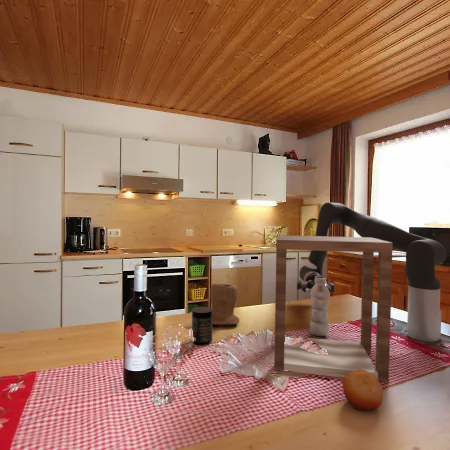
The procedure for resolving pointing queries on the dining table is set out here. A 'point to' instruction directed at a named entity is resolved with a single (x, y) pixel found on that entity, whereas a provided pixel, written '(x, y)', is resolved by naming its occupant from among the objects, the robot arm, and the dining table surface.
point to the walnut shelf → (356, 351)
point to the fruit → (362, 390)
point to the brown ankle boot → (223, 304)
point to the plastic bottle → (319, 307)
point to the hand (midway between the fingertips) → (316, 290)
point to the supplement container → (202, 325)
